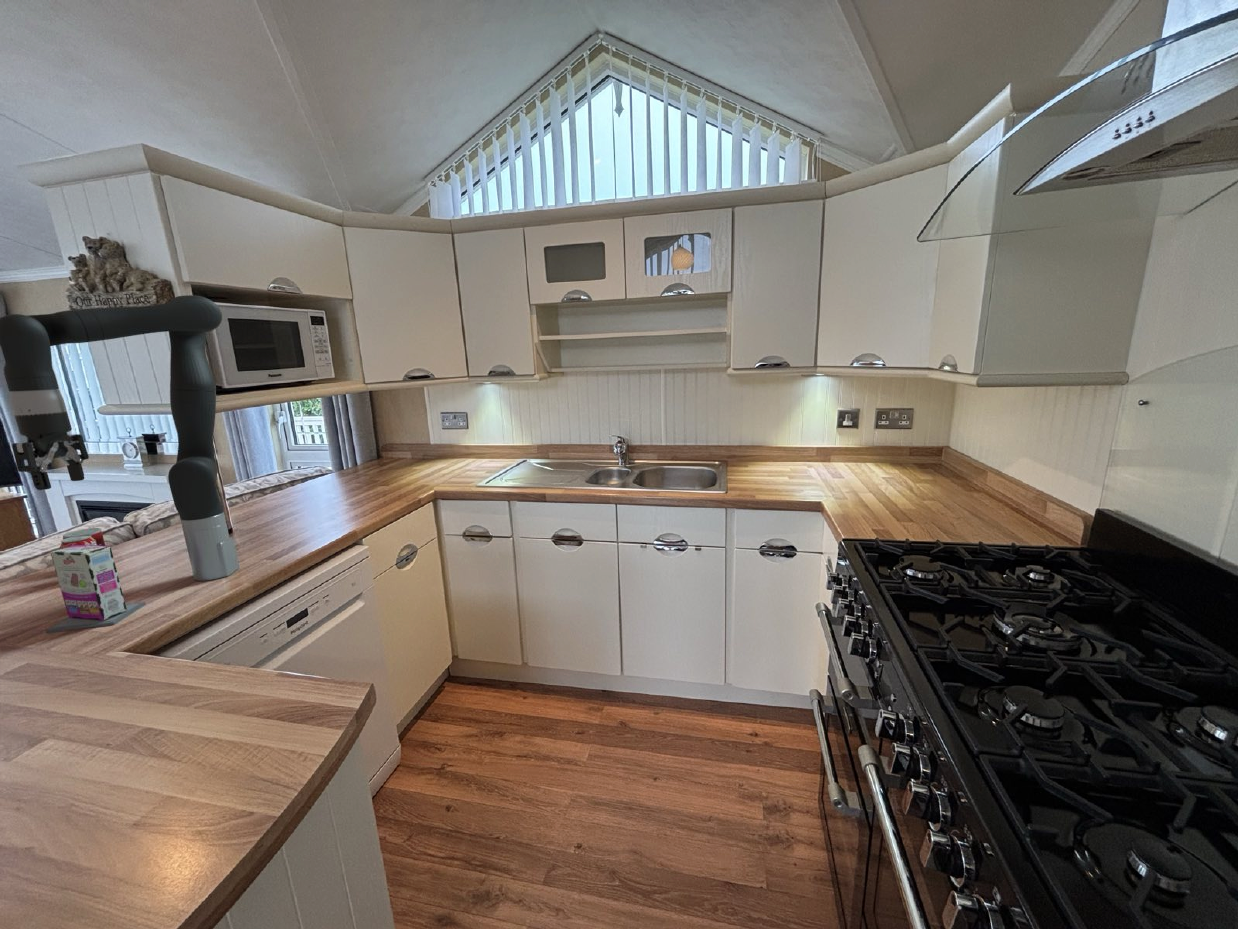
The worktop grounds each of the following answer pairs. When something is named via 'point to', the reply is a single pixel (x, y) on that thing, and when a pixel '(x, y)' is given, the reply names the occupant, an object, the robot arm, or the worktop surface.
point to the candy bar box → (89, 582)
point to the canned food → (94, 533)
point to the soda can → (78, 541)
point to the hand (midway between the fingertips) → (61, 484)
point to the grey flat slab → (88, 623)
